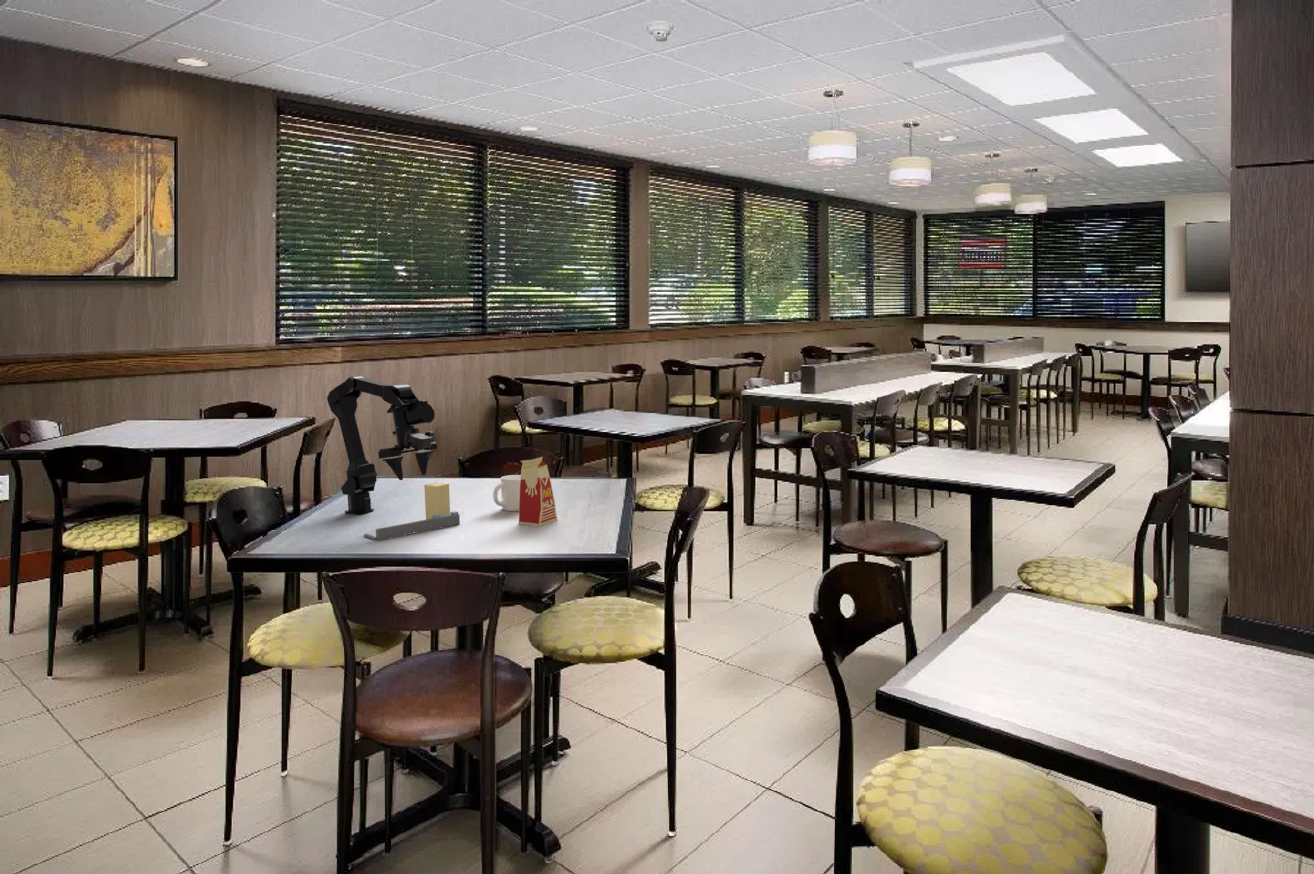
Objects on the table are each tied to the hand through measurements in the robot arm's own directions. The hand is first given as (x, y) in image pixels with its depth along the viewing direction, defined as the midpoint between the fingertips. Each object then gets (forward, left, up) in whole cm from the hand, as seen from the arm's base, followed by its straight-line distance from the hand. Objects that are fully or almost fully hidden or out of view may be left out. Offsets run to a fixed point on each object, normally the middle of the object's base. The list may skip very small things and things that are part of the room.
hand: (412, 477), depth 265 cm
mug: (+18, +24, -13) cm, 33 cm away
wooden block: (+10, -1, -13) cm, 16 cm away
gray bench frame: (+8, -10, -13) cm, 18 cm away
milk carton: (+35, +13, -13) cm, 40 cm away
